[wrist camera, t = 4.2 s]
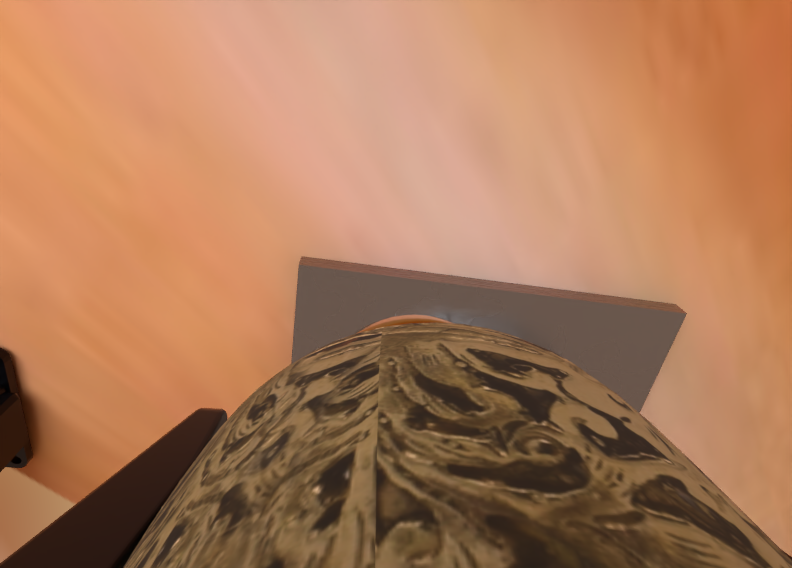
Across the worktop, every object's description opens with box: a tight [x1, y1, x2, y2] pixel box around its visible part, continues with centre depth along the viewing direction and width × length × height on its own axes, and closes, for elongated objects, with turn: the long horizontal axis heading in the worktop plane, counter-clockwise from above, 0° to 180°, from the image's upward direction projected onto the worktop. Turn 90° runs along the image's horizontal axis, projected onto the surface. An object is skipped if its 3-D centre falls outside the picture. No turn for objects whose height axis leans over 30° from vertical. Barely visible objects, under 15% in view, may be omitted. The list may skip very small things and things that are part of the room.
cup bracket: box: [291, 257, 687, 412], centre depth 22 cm, size 16×16×3 cm
